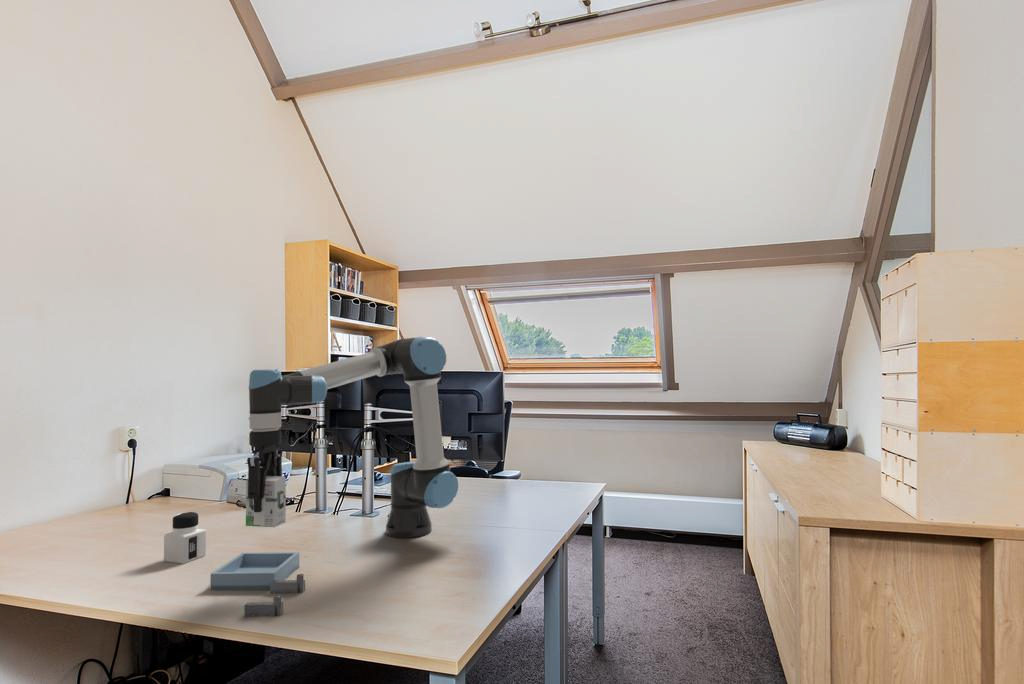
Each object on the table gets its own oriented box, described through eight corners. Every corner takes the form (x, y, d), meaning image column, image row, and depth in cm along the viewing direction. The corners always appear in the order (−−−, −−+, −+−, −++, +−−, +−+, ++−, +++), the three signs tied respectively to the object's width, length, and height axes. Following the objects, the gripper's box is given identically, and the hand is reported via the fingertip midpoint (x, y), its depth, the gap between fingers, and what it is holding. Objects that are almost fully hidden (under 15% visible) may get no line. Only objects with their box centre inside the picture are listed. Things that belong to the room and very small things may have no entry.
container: (206, 555, 166) (206, 511, 166) (183, 564, 159) (184, 517, 159) (186, 553, 168) (187, 509, 169) (163, 561, 161) (163, 515, 162)
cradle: (305, 590, 138) (305, 573, 139) (280, 616, 124) (280, 597, 124) (273, 590, 138) (273, 574, 139) (244, 616, 124) (244, 598, 124)
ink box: (244, 526, 141) (244, 479, 141) (257, 521, 146) (257, 475, 146) (274, 527, 139) (274, 479, 140) (286, 522, 144) (286, 476, 144)
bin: (299, 566, 155) (299, 552, 155) (274, 589, 139) (274, 573, 139) (242, 567, 155) (242, 552, 155) (210, 590, 139) (210, 573, 140)
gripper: (269, 425, 153) (269, 511, 152) (231, 434, 135) (231, 532, 134) (295, 425, 152) (296, 511, 151) (261, 433, 134) (261, 531, 133)
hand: (265, 520), depth 143 cm, fingers closed on ink box, 5 cm apart
